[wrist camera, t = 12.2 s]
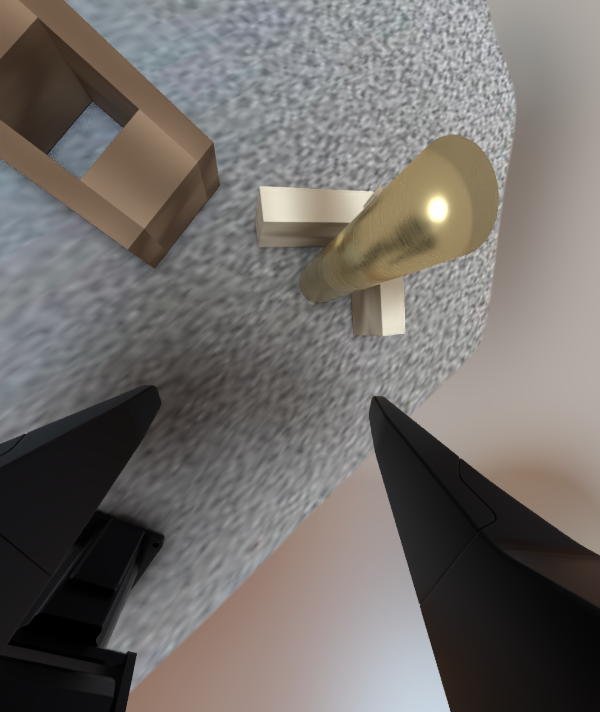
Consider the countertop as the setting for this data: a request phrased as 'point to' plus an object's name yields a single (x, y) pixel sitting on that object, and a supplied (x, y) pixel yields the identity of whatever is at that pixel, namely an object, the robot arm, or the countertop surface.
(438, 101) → the countertop surface
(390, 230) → the axle
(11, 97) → the bore block
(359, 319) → the v block
